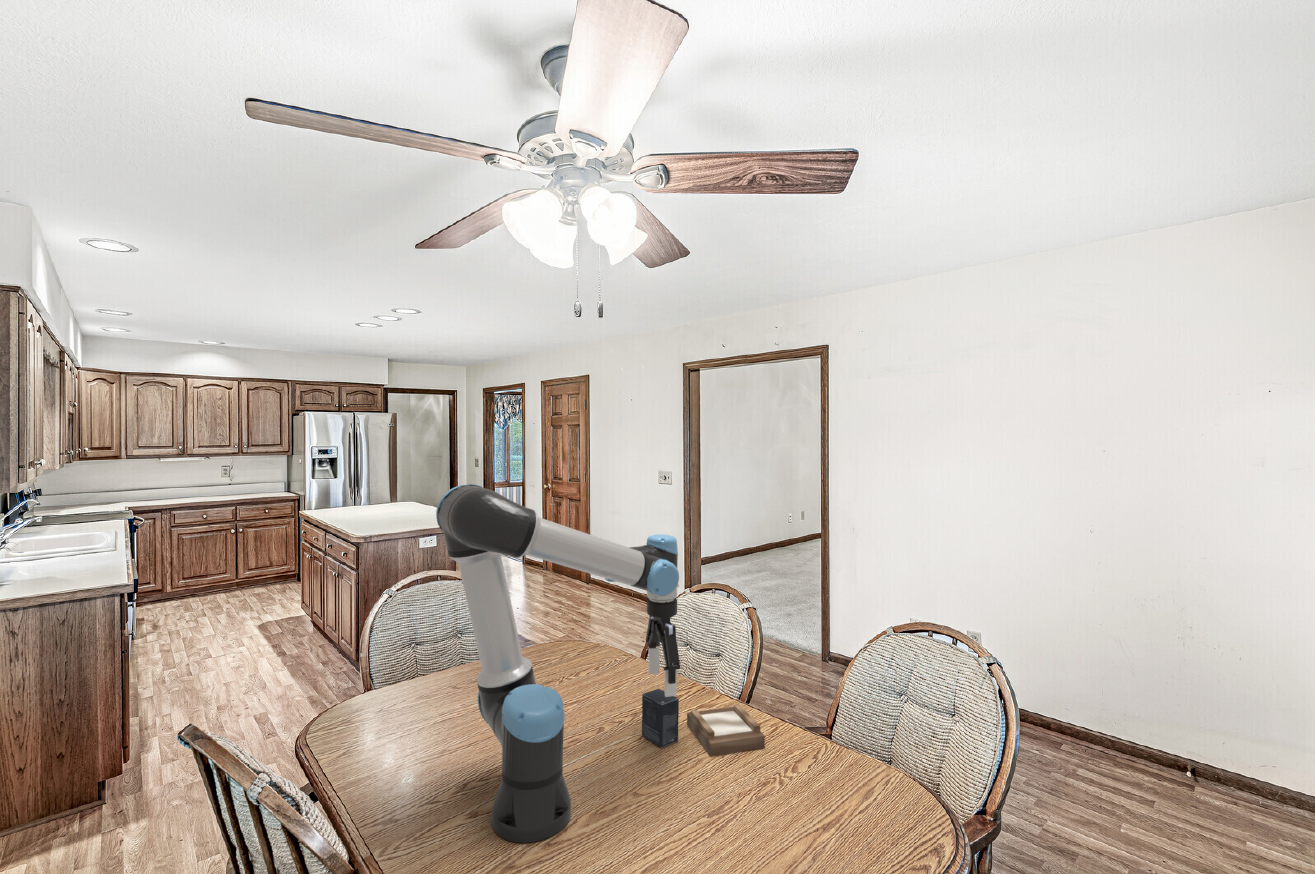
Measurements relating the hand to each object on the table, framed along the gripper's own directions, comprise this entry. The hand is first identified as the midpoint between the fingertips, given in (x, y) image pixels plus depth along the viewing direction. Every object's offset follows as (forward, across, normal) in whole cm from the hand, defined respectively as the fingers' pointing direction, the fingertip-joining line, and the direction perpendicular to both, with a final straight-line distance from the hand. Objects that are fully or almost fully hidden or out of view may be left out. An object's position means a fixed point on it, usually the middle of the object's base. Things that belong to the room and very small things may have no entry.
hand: (661, 684), depth 145 cm
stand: (+14, -3, -16) cm, 21 cm away
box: (+14, 0, +1) cm, 14 cm away
